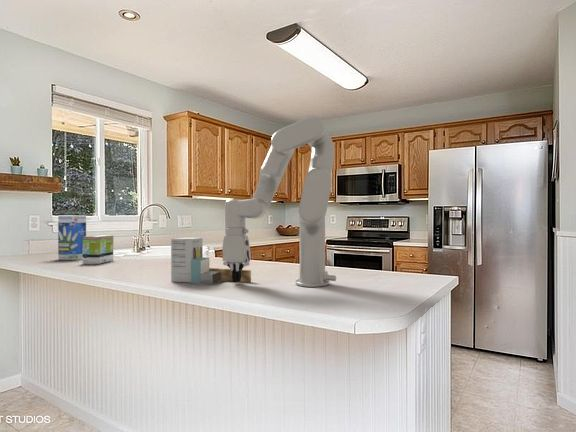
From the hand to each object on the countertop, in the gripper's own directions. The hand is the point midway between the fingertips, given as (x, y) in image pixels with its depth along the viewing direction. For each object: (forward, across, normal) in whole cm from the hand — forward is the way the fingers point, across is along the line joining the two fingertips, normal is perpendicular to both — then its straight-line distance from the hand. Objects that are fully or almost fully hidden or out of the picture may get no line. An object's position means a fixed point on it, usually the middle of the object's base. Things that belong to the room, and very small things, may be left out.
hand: (236, 281), depth 143 cm
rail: (+1, +6, -5) cm, 8 cm away
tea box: (0, +104, -28) cm, 108 cm away
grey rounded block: (+1, +11, +1) cm, 11 cm away
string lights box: (0, +131, -33) cm, 135 cm away
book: (+1, +16, +1) cm, 16 cm away
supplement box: (+1, +22, 0) cm, 22 cm away
